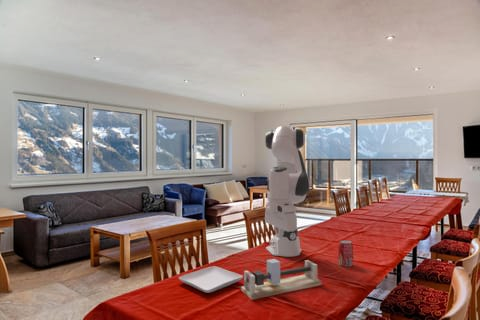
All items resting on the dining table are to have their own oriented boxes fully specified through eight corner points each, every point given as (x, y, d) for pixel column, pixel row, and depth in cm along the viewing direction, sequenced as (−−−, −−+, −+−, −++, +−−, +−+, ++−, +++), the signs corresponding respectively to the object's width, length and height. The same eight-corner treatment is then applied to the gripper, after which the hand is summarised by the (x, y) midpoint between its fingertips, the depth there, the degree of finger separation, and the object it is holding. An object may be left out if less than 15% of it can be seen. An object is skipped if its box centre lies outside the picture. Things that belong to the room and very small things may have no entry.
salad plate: (177, 284, 145) (177, 276, 145) (213, 271, 160) (213, 264, 160) (207, 298, 130) (206, 290, 130) (244, 283, 145) (244, 275, 145)
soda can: (341, 261, 171) (341, 239, 171) (355, 264, 166) (355, 241, 166) (336, 265, 165) (336, 242, 165) (350, 268, 161) (349, 244, 161)
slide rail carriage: (266, 281, 138) (266, 260, 138) (275, 279, 140) (274, 258, 140) (271, 284, 134) (271, 263, 134) (280, 283, 136) (280, 261, 136)
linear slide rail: (241, 290, 137) (240, 270, 136) (308, 276, 150) (307, 258, 150) (251, 299, 127) (251, 278, 127) (321, 284, 141) (321, 265, 141)
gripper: (261, 202, 146) (261, 232, 146) (285, 209, 127) (285, 244, 128) (273, 201, 149) (273, 231, 149) (298, 208, 130) (298, 242, 130)
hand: (279, 237), depth 138 cm, fingers closed
